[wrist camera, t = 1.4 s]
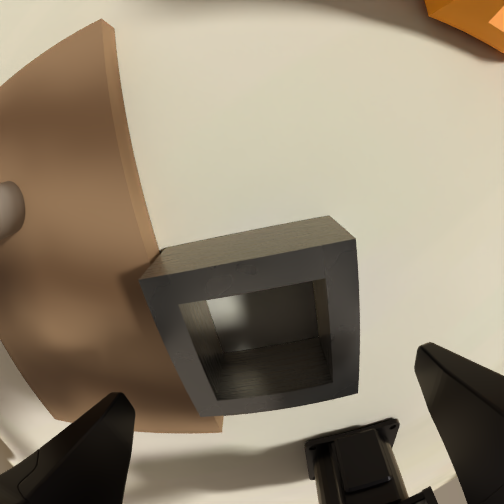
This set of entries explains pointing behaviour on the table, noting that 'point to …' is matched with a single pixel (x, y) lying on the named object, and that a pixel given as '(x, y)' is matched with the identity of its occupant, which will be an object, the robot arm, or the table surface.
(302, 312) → the table surface
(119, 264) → the board
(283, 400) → the grey square frame
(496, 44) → the bracket
